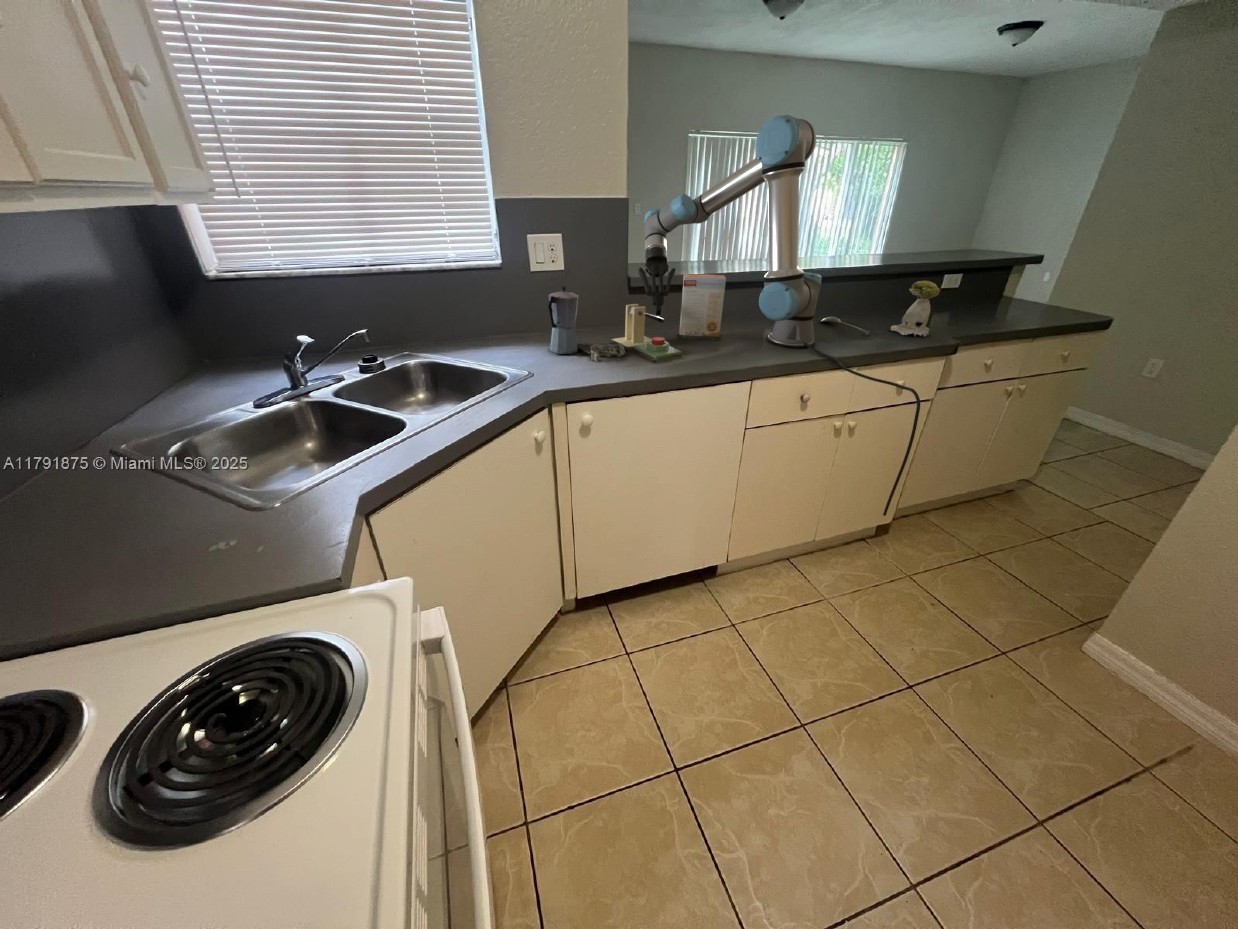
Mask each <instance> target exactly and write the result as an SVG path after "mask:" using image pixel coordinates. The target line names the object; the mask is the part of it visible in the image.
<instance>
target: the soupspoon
mask: <svg viewBox="0 0 1238 929" xmlns="http://www.w3.org/2000/svg"><path fill="white" fill-rule="evenodd" d="M820 322H834V323H836V324H837V323H838V324H842V325H846V326H848V327H851V328H854V329H857V330H859V331H861V332H862V333H864V335H865V336H869V335H870V330H866V329H864V328H860V327H858V326H855V325H853V324H849V323H846V322H843V321H841V319H840V318H838V317H836V316H828V317H825V318H823V319H821V320H820Z"/></svg>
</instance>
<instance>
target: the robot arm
mask: <svg viewBox="0 0 1238 929" xmlns="http://www.w3.org/2000/svg"><path fill="white" fill-rule="evenodd" d="M816 144H817V133H816V131H815V128H814V126H813V125H812V123H810V122H809V121H808V120H806V119H803V118H797V117H794V116H792V115H789V114H784V115H776V116H773V117H772V118H770V119H769V120H767V121H766V122H765V123H764V124H763V126H762V127H761V128H760V130H759V131H758V133H757V136H756V138H755V144H754V150H755V155H756V157H755V158H753V159H752V160H750V161H749V162H747V163H746V164H744V165H743V166H741V167H740V168H739V169H737V170H735V171H733V173H731V174H729V175H728V176H727V177H725V178H723V179H722V180H721V181H719V182H718V183H716V184H715V185H713V186H711V187H710V188H708V189H707V190H706V191H704V192H702V193H701V194H700V195H698V196H697V197H695V198H693V199H692V197H691V196H689V195H688V194H686V193H682V194H680V195H678V196H677V197H675V198H674V199H673V200H672V201H670V202H669V203H667V205H665V206H664V207H663V208H662V209H660V208H653V209H650V210H648V211H647V212H646V213H645V215H644V219H643V220H644V223H643V230H644V250H645V251H644V252H645V254H644V258H645V263H644V266H643V267H639V268H638V272H637V274H638V275H639V277H640V278H641V281H642V284H643V287H644V291H645V294H646V297H650V298H651V305H652V306H654V307H655V316H661V314H662V306H664V303H665V297H668V296H669V293H670V287H671V284H672V279H673V278H674V276H675V275H676V274H675V273H676V268H675V267H670V264H669V263H668V252H667V251H668V249H667V248H668V246H667V235H668V234H669V233H671V232H673V231H674V230H675V229H676V228H677V227H679V226H683V225H684V226H685V225H694V224H696V225H697V224H698V225H699V224H702V223H705V222H707V221H708V220H709V219H710V218H711V216H712V215H713V214H715V213H717V212H718V211H720V210H721V209H723V208H725V207H726V206H729V204H731V203H733V202H734V201H736V200H738V199H739V198H741V197H743V196H745V195H746V194H748V193H749V192H751V191H753V190H754V189H756V188H758V187H759V186H762V184H764V183H765V182H766V183H767V210H768V211H767V220H768V221H767V223H768V271H767V273H765V275H764V276H763V284H764V285H763V286H764V287H763V289H762V290H761V292H760V294H759V297H758V306H759V309H760V311H761V313H762V314H763V315H764V316H765V317H766V318H767V319H768V320H771V321H774V323H773V325H772V327H771V329H770V331H769V334H768V337H767V340H768V342H770V343H772V344H773V345H776V346H781V347H785V348H795V349H802V348H808V349H810V350H811V351H813V352H814V353H816V354H817V355H820V356H822V357H825V358H827V359H830V360H831V361H833V362H835V363H836V364H838V365H839V366H840V368H841V369H843V370H845V371H846V372H848V373H850V374H852V375H855V376H857V377H860V378H864V379H866V380H870V381H873V382H877V383H881V384H885V385H890V386H893V387H896V388H898V389H902V390H905V391H909V392H911V393H912V394H913V396H914V398H915V401H916V409H915V414H914V420H913V425H912V429H911V434H910V438H909V442H908V445H907V449H906V451H905V454H904V458H903V461H902V463H901V466H900V468H899V471H898V473H897V476H896V479H895V481H894V484H893V486H892V489H891V491H890V494H889V496H888V499H887V502H886V505H885V507H884V510H883V513H882V516H883V517H886V516H887V514H888V510H889V508H890V504H891V502H892V499H893V497H894V494H895V492H896V489H897V487H898V484H899V483H900V479H901V477H902V475H903V472H904V469H905V467H906V464H907V462H908V458H909V456H910V453H911V449H912V447H913V444H914V439H915V436H916V431H917V428H918V422H919V416H920V411H921V399H920V395H919V394H918V392H917V391H916V390H915V389H914V388H912V387H909V386H905V385H903V384H900V383H896V382H893V381H888V380H885V379H881V378H876V377H872V376H869V375H866V374H863V373H860V372H857V371H855V370H852V369H850V368H849V367H847V366H845V365H844V364H843V363H842V362H841V361H840V360H839V359H838V358H837V357H834V356H832V355H830V354H826V353H824V352H821V351H820V350H817V349H816V348H814V347H813V345H814V342H815V333H814V332H815V331H814V316H815V313H816V307H817V304H818V299H819V296H820V295H819V294H820V290H821V287H822V280H823V279H822V278H823V277H822V275H820V273H813V272H805V271H804V270H803V269H802V268H801V267H800V266H799V264H800V263H799V262H800V260H799V256H800V254H799V253H800V252H799V250H800V249H799V248H800V244H799V243H800V242H799V241H800V240H799V238H800V237H799V236H800V232H799V231H800V229H799V228H800V176H801V174H803V172H804V171H805V169H806V161H807V160H809V158H810V157H811V156H812V155H813V152H814V150H815V148H816ZM666 273H667V275H668V277H667V281H666V286H665V287H664V276H665V274H666ZM647 274H648V275H649V276H650V282H651V283H650V282H649V280H648V277H647ZM656 278H657V280H658V293H657V280H656ZM649 283H650V284H651V285H650V284H649ZM664 288H665V290H664Z"/></svg>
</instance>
